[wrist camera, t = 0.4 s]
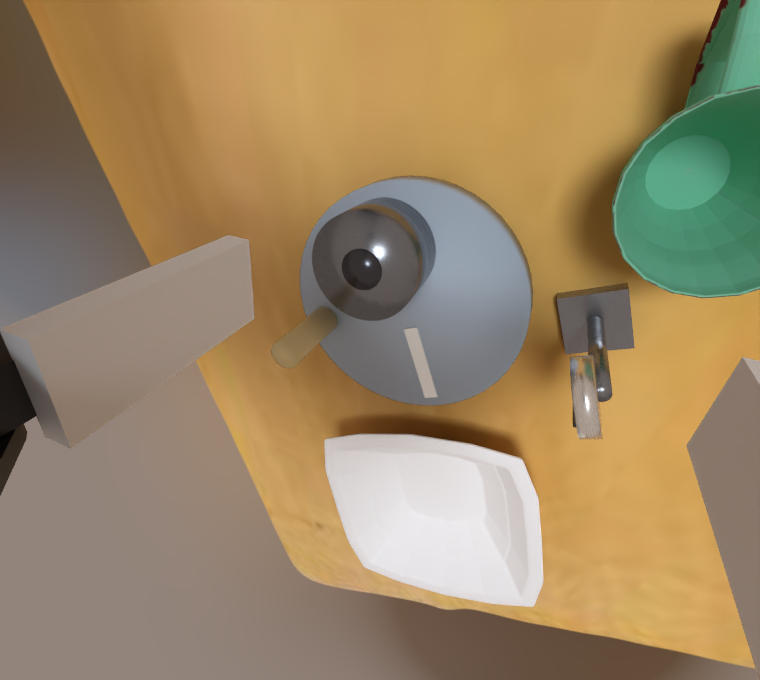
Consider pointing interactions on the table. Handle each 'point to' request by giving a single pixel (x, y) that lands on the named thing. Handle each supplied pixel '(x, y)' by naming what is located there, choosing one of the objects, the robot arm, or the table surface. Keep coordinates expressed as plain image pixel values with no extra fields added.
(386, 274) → the cover
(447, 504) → the bowl
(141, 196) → the table surface
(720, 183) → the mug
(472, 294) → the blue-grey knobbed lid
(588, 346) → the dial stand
